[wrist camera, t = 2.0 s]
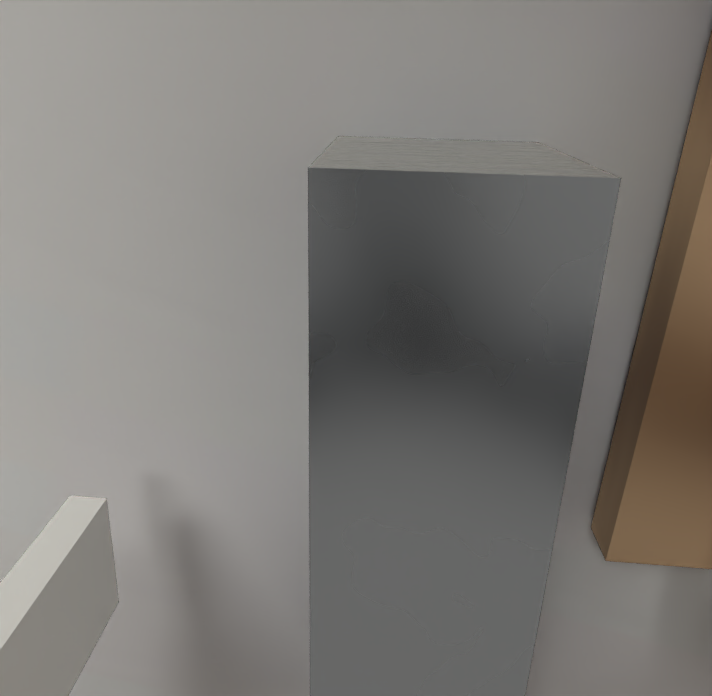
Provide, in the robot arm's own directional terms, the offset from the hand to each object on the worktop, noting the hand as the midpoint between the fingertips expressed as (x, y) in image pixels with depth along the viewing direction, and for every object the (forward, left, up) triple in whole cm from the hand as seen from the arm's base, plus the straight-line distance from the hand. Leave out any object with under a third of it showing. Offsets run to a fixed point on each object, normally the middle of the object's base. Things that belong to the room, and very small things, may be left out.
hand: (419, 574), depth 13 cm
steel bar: (0, 0, -3) cm, 3 cm away
